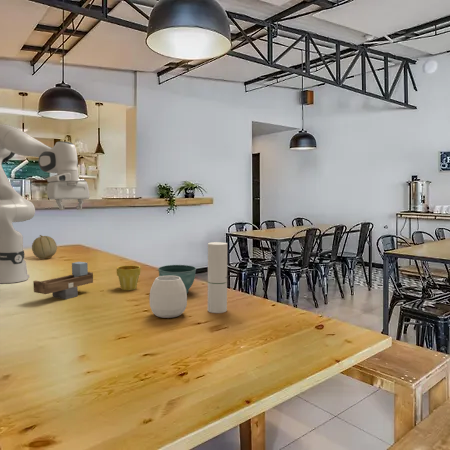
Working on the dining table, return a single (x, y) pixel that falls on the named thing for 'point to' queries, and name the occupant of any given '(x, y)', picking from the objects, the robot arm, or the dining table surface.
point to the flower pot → (179, 273)
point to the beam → (62, 285)
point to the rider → (79, 269)
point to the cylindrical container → (217, 277)
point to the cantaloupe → (44, 247)
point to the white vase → (168, 296)
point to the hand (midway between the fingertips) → (70, 209)
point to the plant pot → (128, 276)
